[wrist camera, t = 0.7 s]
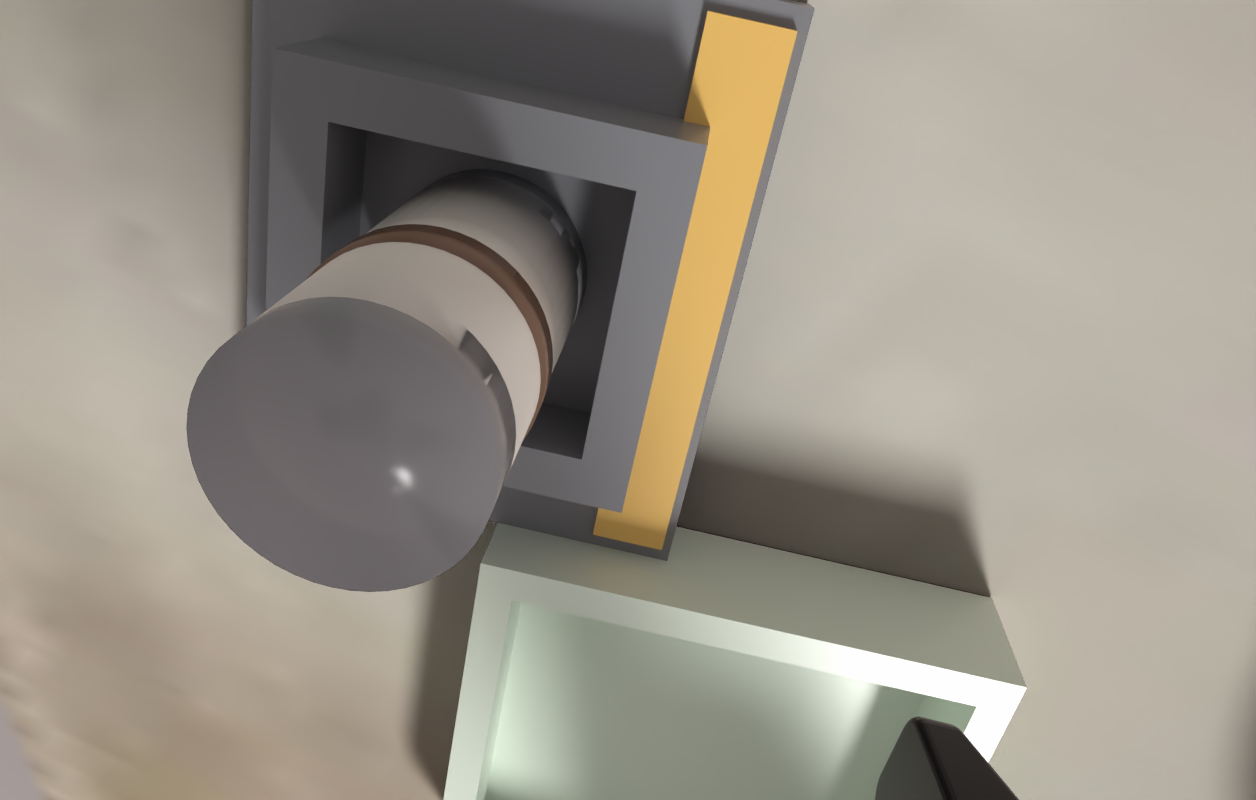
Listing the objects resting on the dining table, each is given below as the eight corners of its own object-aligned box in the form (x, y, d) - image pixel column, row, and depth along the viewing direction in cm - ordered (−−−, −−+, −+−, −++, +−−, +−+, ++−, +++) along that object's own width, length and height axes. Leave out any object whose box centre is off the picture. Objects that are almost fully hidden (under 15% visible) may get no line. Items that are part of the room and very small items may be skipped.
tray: (845, 911, 28) (857, 1016, 26) (455, 822, 28) (424, 917, 26) (992, 598, 23) (1026, 687, 20) (511, 489, 23) (480, 563, 20)
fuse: (571, 380, 20) (478, 623, 13) (381, 338, 20) (184, 556, 13) (606, 192, 18) (521, 352, 11) (399, 145, 18) (180, 276, 11)
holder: (671, 525, 23) (660, 616, 20) (272, 434, 23) (199, 511, 20) (808, 3, 18) (823, 16, 15) (290, -112, 18) (195, -125, 15)
